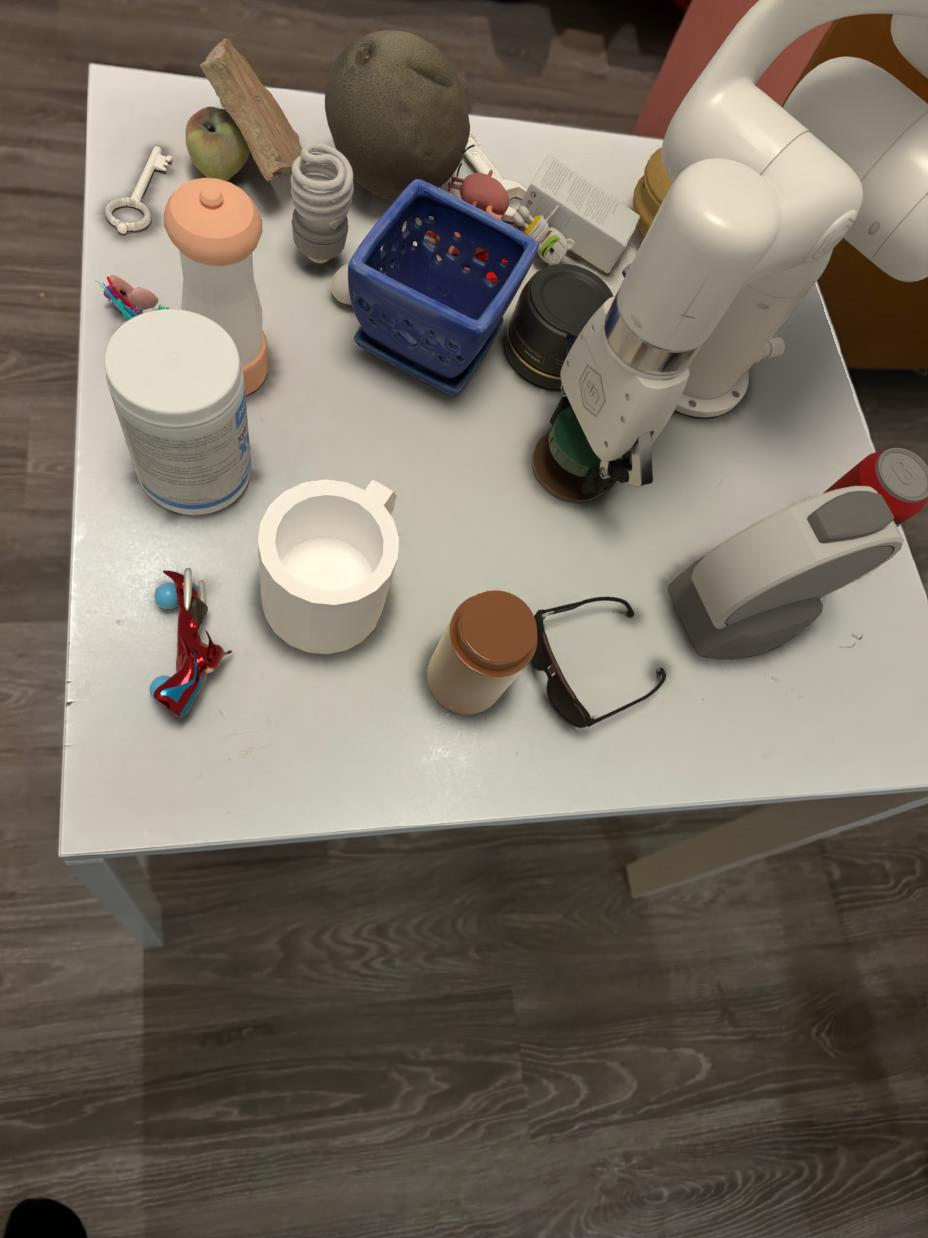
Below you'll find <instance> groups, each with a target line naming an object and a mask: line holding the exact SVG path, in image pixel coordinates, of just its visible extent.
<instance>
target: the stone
mask: <svg viewBox="0 0 928 1238" xmlns="http://www.w3.org/2000/svg"><path fill="white" fill-rule="evenodd" d="M199 68H200V69H201V71H202V73H203V74H204V75H205V77H206V79H207V81H208V82H209V84H210V85H211V87H212V88H213V90H214V92H215V95H216V96H217V98H218V100H219V103H220V105H221V107H222V109H225V110H226V111H227V112H228V113H229V114H230V115H231V117H232V118H233V120H234V121H235V123H236V124H237V126H238V127H239V129H240V131H241V133H242V135H243V136H244V139H245V140H246V142H247V144H248V146H249V152H250V154H251V156H252V158H253V160H254V162H255V164H256V166H257V168H258V169H259V172H260V174H261V175H262V176H263V178H264V179H265V180H266V182H269V181H271V180H274V179H277V178H279V177H281V175H282V173H283V174H289V173H292V165H293V163H294V161H295V160H296V159H297V158H298V157H299V156H301V150H302V148H303V147H302V144H301V142H300V135H299V134H298V133H297V132H296V130H295V129H294V128H293V127H292V125H291V123H290V121H289V120H288V117H287V116H286V115H285V113H284V111H283V109H282V108H281V106H280V104H279V103H278V101H277V100H276V98H275V97H274V95H273V94H272V93H271V91H269V90H268V89H267V88H266V86H265V85H264V84H263V83H262V82H261V80H260V79H259V77H258V76H257V74H256V72H255V71H254V69H253V68H252V66H251V65H250V63H249V62H248V61H247V59H246V58H245V56H244V55H243V54H241V53H240V52H239V51H238V50H237V49H236V48H235V47H234V46H233V44H232V43H231V41H230V40H229V39H228V37H226V38H225V37H224V38H223V39H222V41H220V42H219V43H217V44H216V45H215V46H214V47H213V49H211V51H210V52H209V53H208V55H206V58H205V61H203V62H201V63H200V64H199ZM305 164H307V163H305Z"/></svg>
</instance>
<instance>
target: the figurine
mask: <svg viewBox="0 0 928 1238" xmlns="http://www.w3.org/2000/svg"><path fill="white" fill-rule="evenodd" d="M492 174H493V171H492V170H490V171H489V173H488V175H487V174H483V173H478V172H473V173H470V174H468V175H466V177H464V178H460V177H456V176H453V175H452V177H451V178H450V181H451V182H448V183H447V191H448V192H451V190H452V189H455V190H458V191H459V195H460V199H461V200H463V201H465V202H467V203H469V204H471V205H473V206H475V207H477V208H479V209H481V210H483V211H485V212H487V213H489V214H491V215H493V216H494V217H496V218H498V219H500V220H502V215H504V214H505V212H506V211H507V209H508V207H510V199H509V196H508V194H507V191H506V190H505V188H504V187H503V185H502V184H501V183H500V182H499V181H498V180H496V179H495V178H493V177H491V176H492ZM455 182H457V183H461V184H457V183H455ZM502 221H503V220H502ZM428 232H430V233H433V232H432V231H427V233H426V235H425V236H427V235H428ZM434 234H435V233H434ZM455 235H456V237H461V236H460V234H459V233H457V232H455ZM437 239H438V241H439V239H440V237H439V236H438V235H437ZM438 241H437V242H438ZM483 251H485V250H483V249H481V248H477V249H476V251H475V254H478V253H480V252H483ZM448 252H449V253H450V254H455V255H459V253H460V250H459V249H457V248H456V247H454V246H450V247H449V249H448Z"/></svg>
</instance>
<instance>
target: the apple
mask: <svg viewBox="0 0 928 1238" xmlns="http://www.w3.org/2000/svg"><path fill="white" fill-rule="evenodd" d="M185 144H186V150H187V152H188V154H189V156H190V159H191V161H192V163H193V165H194V167H195V168H196V169H197V170H198V171H199V172H201V174H203V175H204V176H205V178H215V179H220V180H224V181H227V182H229V181H230V179H231V178H233V177H234V176H236V174H237V173H239V172H240V171H241V170H242V168H243V167H244V166H245V164H246V162H247V160H248V158H249V155H250V149H249V146H248V144H247V142H246V140H245V139H244V136H243V135H242V133H241V131H240V129H239V127H238V126H237V124H236V123H235V121H234V120H233V118H232V117H231V115H230V114H229V113H228V112H227V111H226V110H225V109H224V108H220V107H219V108H218V107H215V106H205V107H203V108H200V109H199V110H197V111H196V112H195V113H194V114H192V115H191V116H190V117H189V119H188V121H187V122H186V126H185Z"/></svg>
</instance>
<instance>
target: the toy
mask: <svg viewBox="0 0 928 1238" xmlns="http://www.w3.org/2000/svg"><path fill="white" fill-rule="evenodd" d="M474 146H475V145H471V146H469V147H468V148H467V149H466V150H465V151H464V152H463V154H464V153H465V152H466V151H467V150H468V149H470V148H472V147H474ZM462 166H463V162H461V163H460V165H459V166H458V168H457V170H456V175H455V177H457V178H459V173H460V170H461V168H462ZM519 206H520V205H519ZM519 206H518V208H517V210H518V213H514V214H513V221H514V222H513V223H514V224H515V225H516V226H518V227H521V226H522V227H523V228H524V229H523V231H522V232H523V233H525V234H527V235H528V236H530V237H532V238H533V239H535V240H536V241H537V242H538V244H539V247H538V251H537V254H538V256H539V258H540V259H541V260H542V261H543V262H545V263H547V264H548V266H551V265H555V264H560V262H561V261H563V259H564V258H565V256H566V255H567V252H568V251H571V249H572V248H573V247H574V244H575V243H574V241H573V240H572V239H567V240H566V239H565V237H564V236H563V234H562V233H561V232H560V231H558V230H557V229H555V228H551V227H550V228H549V227H548V223H547V221H548V220H549V218H550V217H551V216H552V215H554V213H555V211H556V210H557V209H558V208H559V206H560V205H557V206H556V207H555V209H554V210H553V211H552V212H551V213H550V214H549V216H548V217H547V218H546V219H544V218H543V215H540V216H535V217H534V218H532V217H531V216H530V214H529V210H528V209H527V208H526V207H525V206H520V207H519ZM524 219H528V220H529V221H530V222H529V223H528V222H526V221H525V220H524ZM548 266H547V267H548Z"/></svg>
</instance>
